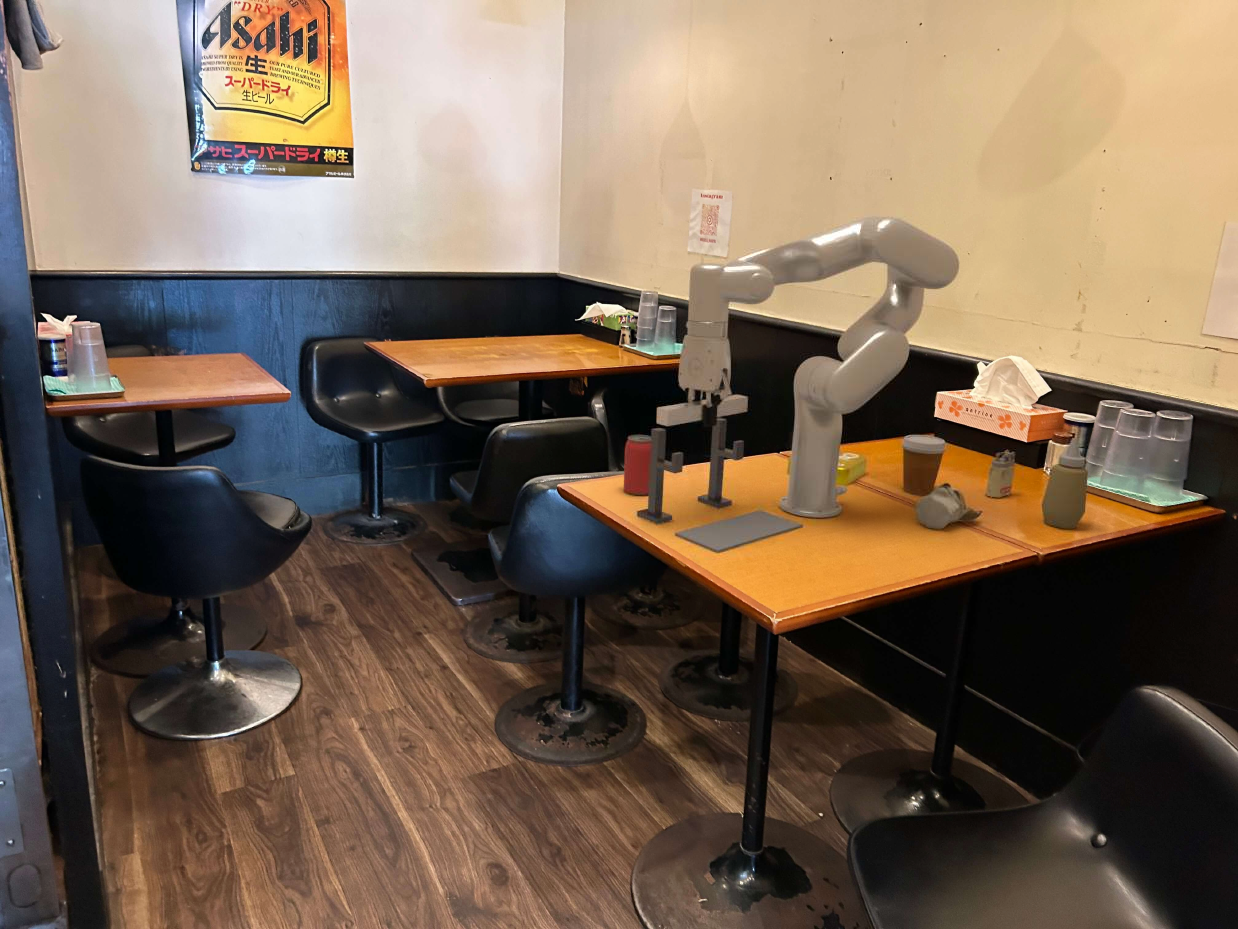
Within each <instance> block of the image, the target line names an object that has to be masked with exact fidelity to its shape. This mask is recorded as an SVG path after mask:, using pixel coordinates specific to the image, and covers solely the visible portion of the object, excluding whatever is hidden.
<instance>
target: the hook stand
mask: <svg viewBox="0 0 1238 929" xmlns="http://www.w3.org/2000/svg"><path fill="white" fill-rule="evenodd" d="M727 423H728V419H726V418H722V417H717V424H716V425H715V426H712V428H711V430H712V431H711V444H710V447H711V448H710V461H709V462H710V463H709V474H708V475H709V478H708V490H707V491H708V492H707V493H706V494H703V495H698V496H697V502H699V503H702V504H705V505H708V506H710V507H712V508H715V509H722V508H726V507H729V506H732V504H733V503H732V502H733V501H732V500H731V499H728V498H726V497H723V496H722V495H723V486H724V485H723V483H724V471H725V470H724V467H725V458H727V459H729V460H733V461H740V460H743V459H744V448H745V447H744V446H745V441H744V440H736V441H735V440H734V441H733V445H732V449H730V448H726V440H727V427H728V426H727V425H728V424H727ZM650 431H651V432H650V433H651V434H650V435H651V450H650V472H649V494H648V496H647V497H648V498H647V508H645V509H640V510H637V511H636V517H639V518H641V519H643V518H644V520H646V519H647V520H646V521H648V520H649V521H648V522H651V523H653V522H654V524H656V525H659V524H658V523H660V524H663V523H662V522H664V523H667V521H668V522H671V520H672V521H673V514H670V513H667V512H665V511H663V503H664V502H663V498H664V482H665V481H664V478H665V477H664V476H665V472H669V473H672V474H678V473H683V466H684V465H683V464H684V463H683V462H684V453H683V452H680V451H678V452H673V453H671V461H668V460H665V459H666V458H665V457H666V439H667V429H665V428H660V427H656V428H652V429H651V430H650Z"/></svg>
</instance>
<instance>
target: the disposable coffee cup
mask: <svg viewBox="0 0 1238 929" xmlns="http://www.w3.org/2000/svg"><path fill="white" fill-rule="evenodd" d="M901 445H902V446H901V447H902V452H903V453H902V461H903V462H902V463H903V464H902V465H903V466H902V467H903V472H902V476H903V478H902V479H903V484H902V485H903V486H902V487H903V488H902V490H903V491H904V492H905V493H909V494H911V495H917V496H928V495H929V494H930V493H931V492H933V491H934V490H935V486H936V481H937V477H938V474H939V470H940V466H941V463H942V459H943V455H944V453H945V451H946V450H947V446H946V441H945V440H944V439H943V438H939V437H937V436H932V435H931V436H930V435H925V434H923V435H922V434H909V435H906V436H904V438H903V441H901Z"/></svg>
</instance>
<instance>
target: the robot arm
mask: <svg viewBox="0 0 1238 929" xmlns="http://www.w3.org/2000/svg"><path fill="white" fill-rule="evenodd" d="M871 263H878V264H885V265H887V266H886V267H887V268H886V270H887V271H886V273H887V278H886V281H887V282H886V286H885V290H884V291H883V294H882V296H881V297H880V298H879V299H878V301H876V302H875V303H874V304H873V306H872V307H871V308H869V309H868V310H867V311H866V312H865V313H863V315H862V316H860V317H859V318H858V319H857V320H855V322H854V323H853V324H851V325H850V326H849V327H848V328H847V329H846V330H845V331H844V332H843V333H842V335H841V336H840V338H839V340H838V343H837V352H838V355H839V357H840V358H841V359H842V360H843V361H840V360H837V359H834V358H831V357H829V356H822V355H819V356H812V357H810V358H807V359H806V360H804V361H803V362H802V363H801V364H800V365H799V367H798V368H797V370H796V372H795V375H794V380H793V396H794V398H793V399H794V422H793V425H794V426H793V435H792V444H791V456H790V457H791V465H790V475H789V478H788V490H787V495H785V496H783V497H781V498H780V500H779V508H781V510H783V511H785V512H787V513H788V514H792V515H796V516H799V517H800V516H801V517H806V518H821V519H822V518H832V517H835V516H838V515H839V514H841V512H842V504H840V503H839V502H838V501H837V498H838V497H839V496H842V495H845V494H847V491H848V489H847V486H846V485H836V480H837V471H838V461H839V452H841V441H842V434H843V433H842V432H843V416H842V415H847V414H851V413H853V412H855V411H856V410H858V409H860V408H861V407H863V406H864V405H865V404H866V403H867V402H868V401H869V400H871V399H872V398H873V397H874V396H875V395H876V394H878V392H880V391H881V390H882V389H883V388H885V386H886V385H888V384H889V383H890V382H891V381H892V380H893V379H894V378H895V377H896V376H897V375H898V374H899V373H900V372H901V371H902V369H903V368H904V367H905V365H906V362H908V361H907V360H908V358H909V355H910V354H909V353H910V343H909V340H908V337H907V336H906V334H907V333H908V331H910V330H911V329H912V328H913V327H914V325H916V323H917V322H918V320H919V318H920V317H921V314H922V310H923V307H924V298H925V289H927V290H940V289H943V288H945V287H947V286H949V285H950V284H952V282H954V280H955V279H956V278H957V277H958V276H957V275H958V273H959V271H960V260H959V257H958V254H957V253H956V251H955V250H954V249H953V248H952V247H951V246H950V245H949V244H947V243H946V242H944V241H941V240H939V238H936V237H934V236H932V235H931V234H929V233H927V232H925V231H924V230H922V229H919V228H918V227H917V226H914V225H912V223H909V222H907V221H905V220H902V219H901V218H898V217H894V216H867V217H862V218H859V219H856V220H852V221H850V222H848V223H845V224H842V225H839V226H837V227H834V228H832V229H828V230H826V231H823V232H820V233H817V234H814V235H811V236H807V237H805V238H801V239H797V240H792V241H791V242H787V243H784V244H780V245H778V246H773V247H770V248H765V249H762V250H760V251H756V252H754V253H750V254H748V255H745V256H743V257H739V258H737V259H735V260H734V259H733V260H732V261H730V262H727V263H726V264H725V263H724V264H723V263H711V262H710V263H709V262H707V263H704V262H703V263H702V262H701V263H696V264H694V265H692V266H691V268H690V271H689V294H688V311H687V312H688V315H687V316H688V317H687V321H686V324H685V326H686V328H687V334H685V335H684V338H683V341H682V345H681V350H680V357H679V365H678V383H679V384H678V386H679V387H680V388H681V389H682V390H683V391H684V392H685V395H686V397H687V401H688V402H695V401H701V400H703V393H704V392H705V397H706V398H705V400H706V405H707V406H706V407H704V420H699V421H693V422H689V423H690V424H697V423H702V425H703V427H704V428H709V427H710V428H711V427H713V426H715V425H716V424H717V418H718V417H717V408H718V406H720V404H721V402H722V401H723V400H724V399H725V398H728V397H730V396H731V395H733V394H732V390H731V387H730V385H731V384H730V382H731V374H732V372H731V369H732V368H731V367H732V366H731V364H732V363H731V362H732V361H731V360H732V359H731V349H730V347H731V346H730V340H729V338H728V325H729V308H730V306H729V305H730V303H738V304H745V305H758V304H760V303H763V302H765V301H767V300H768V299H769V298H770V297H771V296H772V294H773V293H774V290H775V287H776V286H781V285H785V284H786V285H787V284H795V283H811V282H817V281H822V280H825V279H828V278H831V277H833V276H837V275H839V274H841V273H844V272H847V271H851V270H852V269H856V268H858V267H861V266H864V265H867V264H871ZM713 395H714V396H713ZM688 402H687V403H688Z"/></svg>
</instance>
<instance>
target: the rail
mask: <svg viewBox="0 0 1238 929" xmlns="http://www.w3.org/2000/svg"><path fill="white" fill-rule="evenodd" d="M748 402H749V397H748V396H745V395H741V394H732V395H731V396H730V397H728V398H725V399H724V400H723V401H722V402H721V404H720V406H718V408H717V418H721V417H725V416H731V415H737V414H742V413H746V412H748V404H749V403H748ZM706 406H707V405H706V399H702V400H701V401H695V402H684V403H682V402H681V403H678V404H673V405H671V404H670V405H666V406H658V407H656V424H658V425H661V426H665V427H672V426H676V425H681V424H686V423H690V422H693V421H699V420H704V407H706Z"/></svg>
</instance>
